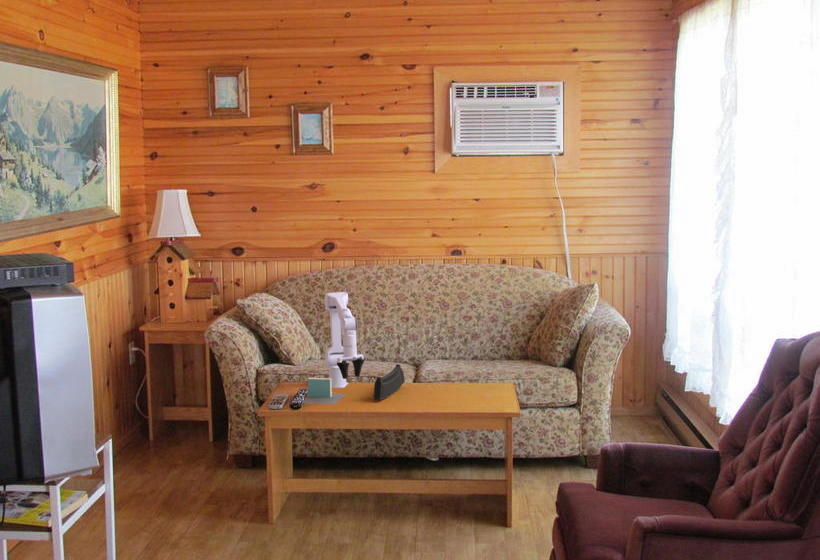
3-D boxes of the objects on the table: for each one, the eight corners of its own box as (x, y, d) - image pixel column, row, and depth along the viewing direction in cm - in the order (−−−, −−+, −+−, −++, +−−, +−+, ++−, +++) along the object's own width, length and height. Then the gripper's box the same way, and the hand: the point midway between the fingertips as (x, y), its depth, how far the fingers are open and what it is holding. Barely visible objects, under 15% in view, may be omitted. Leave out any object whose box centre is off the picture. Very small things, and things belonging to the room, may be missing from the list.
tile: (309, 395, 404) (309, 377, 403) (331, 396, 402) (331, 378, 401) (308, 396, 402) (307, 379, 401) (330, 397, 400) (329, 379, 399)
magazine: (377, 383, 388) (401, 350, 414) (370, 383, 389) (394, 350, 415) (382, 418, 394) (405, 383, 420) (375, 417, 396) (398, 383, 421)
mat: (302, 393, 410) (302, 392, 409) (345, 394, 406) (345, 394, 406) (289, 403, 392) (289, 402, 392) (334, 405, 388) (334, 404, 388)
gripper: (344, 348, 385) (346, 380, 385) (368, 344, 396) (369, 375, 396) (332, 347, 389) (334, 379, 390) (356, 343, 400) (357, 374, 401)
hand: (351, 377), depth 393 cm, fingers open, 7 cm apart
